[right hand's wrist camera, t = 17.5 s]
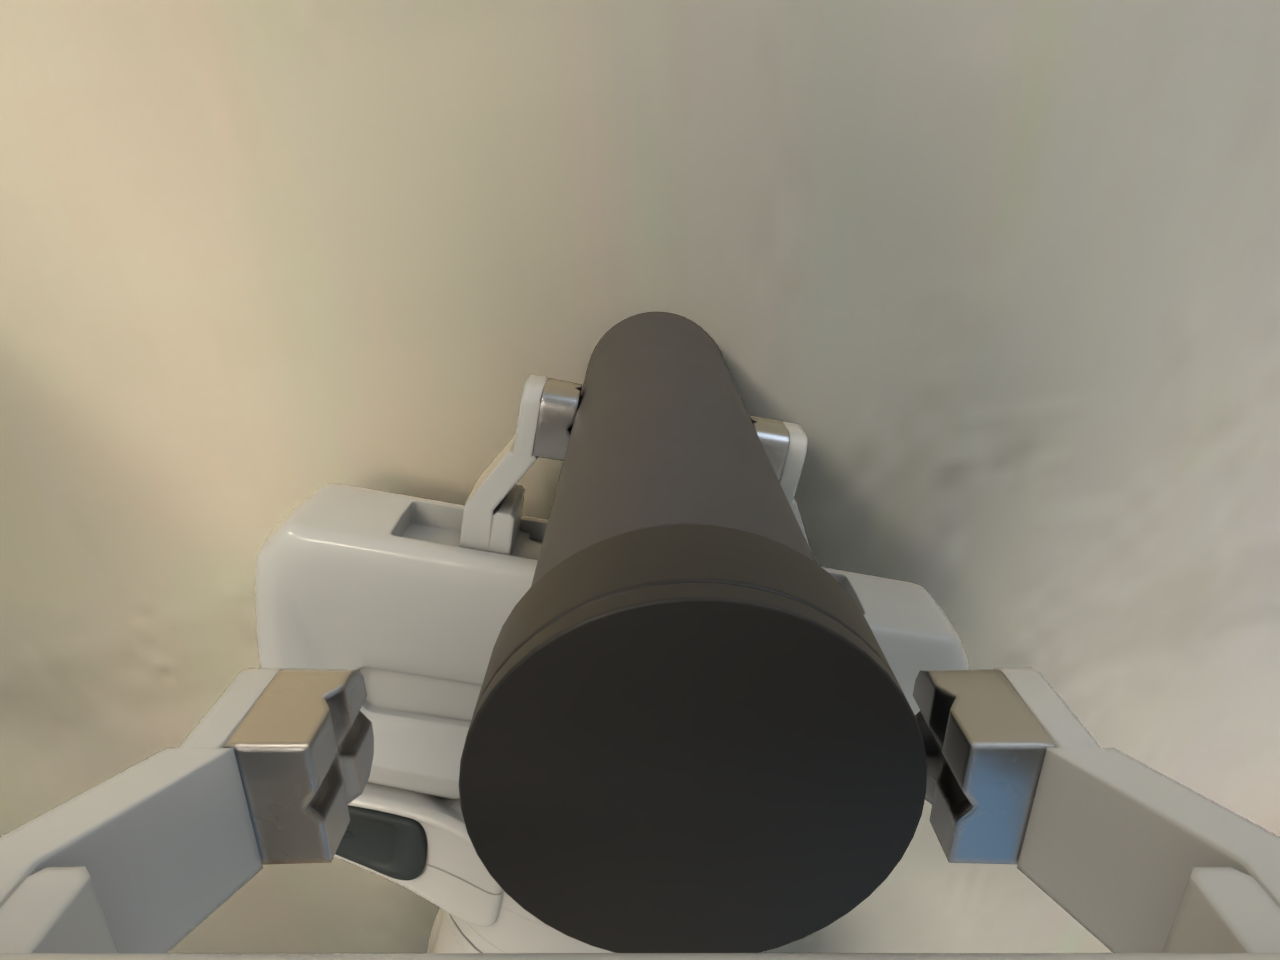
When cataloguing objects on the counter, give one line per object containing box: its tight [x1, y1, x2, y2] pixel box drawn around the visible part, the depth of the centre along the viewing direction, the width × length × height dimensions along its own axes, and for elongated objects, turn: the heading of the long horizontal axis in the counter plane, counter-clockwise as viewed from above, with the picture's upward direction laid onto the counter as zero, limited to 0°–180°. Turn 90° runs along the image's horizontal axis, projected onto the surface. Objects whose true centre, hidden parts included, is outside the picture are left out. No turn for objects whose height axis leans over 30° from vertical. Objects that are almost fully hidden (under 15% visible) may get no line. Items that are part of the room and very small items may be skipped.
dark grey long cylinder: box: [531, 312, 817, 587], centre depth 18 cm, size 5×5×18 cm
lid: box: [459, 524, 927, 953], centre depth 9 cm, size 5×5×2 cm
